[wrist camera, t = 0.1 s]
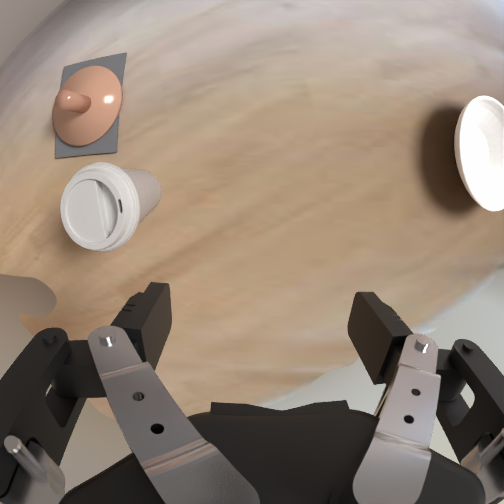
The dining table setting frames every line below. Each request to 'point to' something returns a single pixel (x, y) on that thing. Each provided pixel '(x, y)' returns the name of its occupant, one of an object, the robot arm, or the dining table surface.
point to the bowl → (482, 151)
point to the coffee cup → (107, 204)
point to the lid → (87, 105)
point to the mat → (110, 138)
